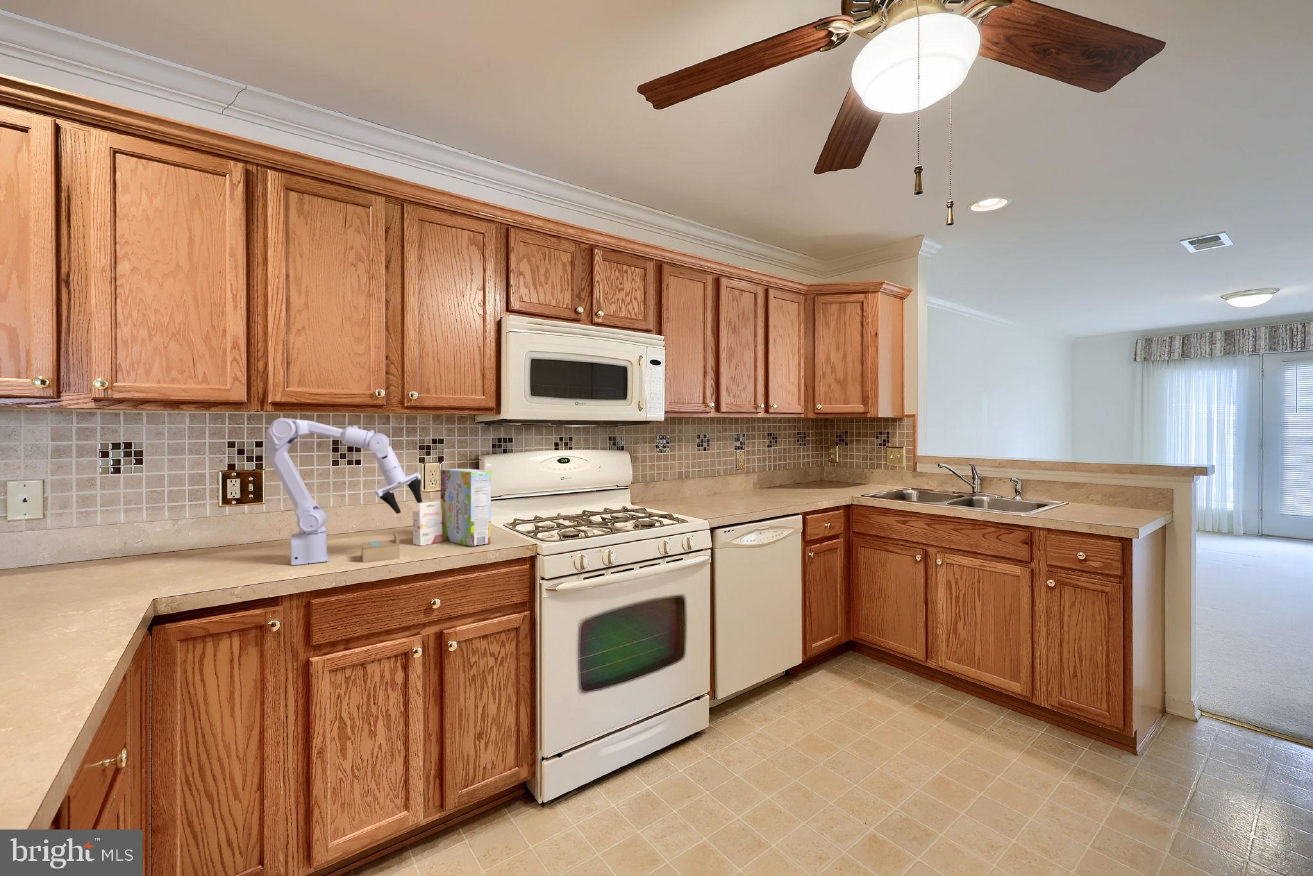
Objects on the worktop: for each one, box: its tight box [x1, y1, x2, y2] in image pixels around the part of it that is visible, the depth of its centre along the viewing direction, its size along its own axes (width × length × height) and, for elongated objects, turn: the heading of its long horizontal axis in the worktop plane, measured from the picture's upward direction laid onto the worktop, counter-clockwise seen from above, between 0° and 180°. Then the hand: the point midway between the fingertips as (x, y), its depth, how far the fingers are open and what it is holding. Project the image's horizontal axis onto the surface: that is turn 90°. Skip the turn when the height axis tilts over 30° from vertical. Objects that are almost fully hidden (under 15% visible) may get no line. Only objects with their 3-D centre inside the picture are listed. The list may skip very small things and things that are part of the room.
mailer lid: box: [361, 532, 400, 549], centre depth 174 cm, size 10×8×3 cm
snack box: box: [439, 468, 492, 547], centre depth 199 cm, size 22×9×26 cm, turn 49°
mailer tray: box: [361, 545, 401, 563], centre depth 174 cm, size 10×8×4 cm
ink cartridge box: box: [412, 500, 443, 546], centre depth 196 cm, size 9×5×15 cm, turn 143°
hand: (409, 507), depth 180 cm, fingers open, 7 cm apart
